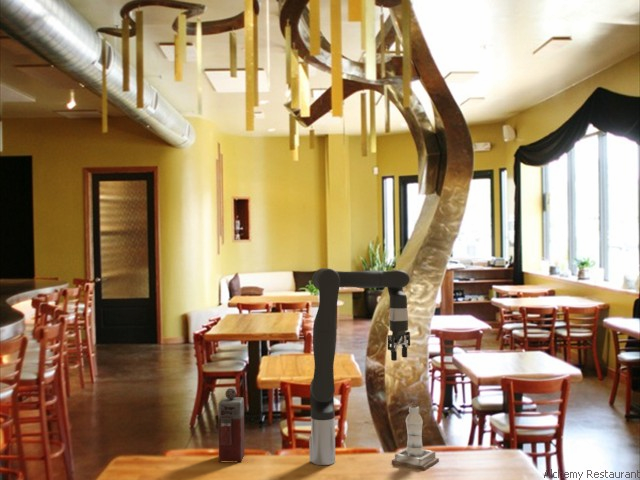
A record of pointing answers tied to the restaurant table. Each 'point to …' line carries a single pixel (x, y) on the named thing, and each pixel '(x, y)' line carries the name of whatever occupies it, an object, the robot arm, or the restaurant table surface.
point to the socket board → (416, 460)
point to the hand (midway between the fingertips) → (399, 358)
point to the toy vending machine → (231, 427)
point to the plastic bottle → (414, 433)
